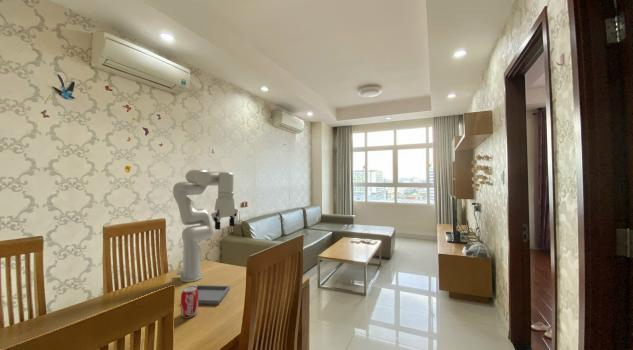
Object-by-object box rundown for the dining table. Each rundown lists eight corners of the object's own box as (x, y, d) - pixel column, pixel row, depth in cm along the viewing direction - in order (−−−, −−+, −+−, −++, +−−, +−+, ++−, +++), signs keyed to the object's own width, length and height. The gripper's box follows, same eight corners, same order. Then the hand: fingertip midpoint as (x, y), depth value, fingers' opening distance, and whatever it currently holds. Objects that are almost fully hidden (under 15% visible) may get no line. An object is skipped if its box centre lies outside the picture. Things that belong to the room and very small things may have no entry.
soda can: (180, 320, 110) (181, 293, 110) (180, 312, 116) (181, 286, 116) (198, 317, 113) (198, 290, 113) (197, 309, 119) (198, 284, 119)
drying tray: (182, 304, 124) (182, 299, 124) (197, 289, 140) (197, 285, 140) (218, 304, 124) (218, 300, 124) (229, 289, 140) (229, 285, 140)
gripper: (232, 194, 143) (232, 224, 143) (206, 196, 127) (206, 229, 127) (242, 194, 139) (241, 225, 139) (217, 197, 124) (216, 231, 124)
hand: (224, 227), depth 133 cm, fingers open, 9 cm apart
